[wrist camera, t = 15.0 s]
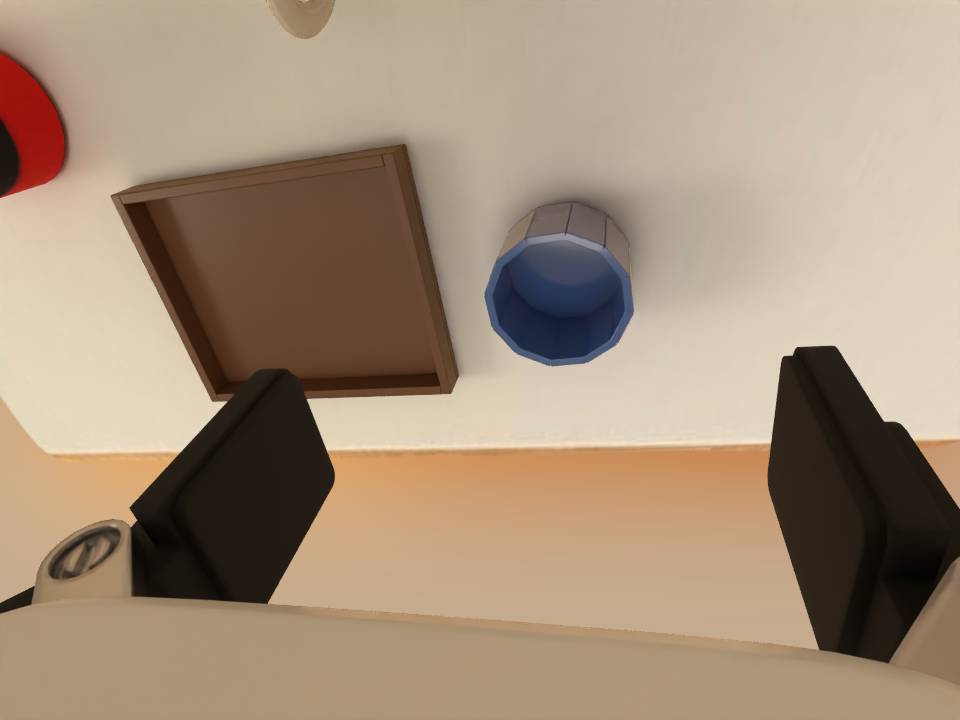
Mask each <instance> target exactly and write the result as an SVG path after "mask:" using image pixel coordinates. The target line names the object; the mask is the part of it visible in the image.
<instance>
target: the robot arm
mask: <svg viewBox="0 0 960 720" xmlns="http://www.w3.org/2000/svg"><path fill="white" fill-rule="evenodd" d="M334 473H335V472H334V468H333V466H332V463H331V460H330V458H329V455H328V453H327V450H326V448H325V445H324V443H323V440H322V437H321V435H320V432H319V430H318V427H317V425H316V422H315V419H314V417H313V414H312V412H311V409H310V407H309V404H308V402H307V399H306V396H305V394H304V391H303V389H302V386H301V384H300V381H299V379H298V378H297V377H296V376H295V375H292V374H291V372H290V371H289V370H288V369H285V368H278V369H260V370H257V371H256V372H255V373H254V374H253V375H252V376H251V377H250V378H249V379H248V380H247V381H246V383H245V384H244V385H243V386H242V387H241V388H240V389H239V390H238V391H237V392H236V393H235V394H234V395H233V397H232V398H231V399H230V400H229V401H228V402H227V403H226V404H225V405H224V406H223V407H222V408H221V409H220V411H219V412H218V413H217V414H216V415H215V416H214V417H213V418H212V419H211V420H210V421H209V422H208V424H207V425H206V426H205V427H204V428H203V429H202V430H201V431H200V432H199V433H198V434H197V435H196V436H195V438H194V439H193V440H192V441H191V442H190V443H189V444H188V445H187V446H186V447H185V448H184V449H183V450H182V452H181V453H180V454H179V455H178V456H177V457H176V458H175V459H174V460H173V461H172V462H171V464H170V465H169V466H168V467H167V468H166V469H165V470H164V471H163V472H162V473H161V474H160V475H159V476H158V477H157V479H156V480H155V481H154V482H153V483H152V484H151V485H150V486H149V487H148V488H147V489H146V490H145V492H144V493H143V494H142V495H141V496H140V497H139V498H138V499H137V500H136V501H135V502H134V503H133V504H132V506H131V507H130V510H131V511H132V513H133V514H134V516H135V517H136V519H137V521H136V522H135V524H134V525H133V526H132V527H131V528H130V526H129V525H128V524H127V523H125V522H124V521H122V520H115V519H111V520H105V521H100V522H97V523H94V524H91V525H88V526H86V527H84V528H82V529H80V530H78V531H76V532H74V533H73V534H71V535H70V536H68V537H67V538H66V539H64V540H63V541H61V542H60V543H59V544H58V545H57V546H56V547H55V548H53V549H52V551H50V552H49V554H48V555H47V556H46V557H45V559H44V560H43V561H42V563H41V565H40V567H39V570H38V572H37V577H36V582H35V586H33V587H32V588H29V589H28V590H25V591H23V592H21V593H19V594H17V595H15V596H13V597H11V598H10V599H7V600H5V601H4V602H1V603H0V720H960V509H959V507H958V506H957V505H956V503H955V502H954V500H953V499H952V497H951V496H950V494H949V493H948V491H947V490H946V488H945V487H944V485H943V484H942V482H941V481H940V479H939V478H938V476H937V475H936V473H935V472H934V471H933V469H932V467H931V466H930V465H929V463H928V461H927V460H926V458H925V457H924V455H923V454H922V452H921V451H920V449H919V448H918V446H917V445H916V444H915V442H914V441H913V439H912V438H911V436H910V435H909V433H908V432H907V430H906V429H905V428H904V427H903V426H902V425H901V424H899V423H897V422H884V421H883V419H882V418H881V416H880V415H879V413H878V412H877V410H876V408H875V407H874V405H873V404H872V402H871V401H870V399H869V397H868V396H867V394H866V393H865V391H864V389H863V388H862V386H861V385H860V383H859V382H858V380H857V378H856V377H855V375H854V374H853V372H852V371H851V369H850V367H849V366H848V364H847V363H846V361H845V360H844V358H843V356H842V355H841V353H840V352H839V350H838V349H837V348H836V347H835V346H814V347H797V348H796V349H795V351H794V354H793V356H784V357H783V358H782V362H781V368H780V376H779V384H778V393H777V401H776V409H775V417H774V425H773V433H772V441H771V450H770V458H769V466H768V487H769V492H770V496H771V499H772V502H773V505H774V508H775V512H776V515H777V518H778V521H779V524H780V528H781V531H782V534H783V537H784V540H785V543H786V546H787V549H788V552H789V556H790V559H791V562H792V565H793V568H794V571H795V574H796V578H797V581H798V584H799V587H800V590H801V594H802V597H803V600H804V603H805V606H806V609H807V612H808V615H809V619H810V622H811V625H812V628H813V631H814V634H815V638H816V641H817V644H818V647H819V650H814V649H807V648H799V647H792V646H784V645H777V644H770V643H759V642H747V641H738V640H727V639H717V638H706V637H695V636H685V635H674V634H663V633H652V632H640V631H627V630H614V629H601V628H587V627H576V626H563V625H550V624H537V623H525V622H512V621H499V620H486V619H471V618H459V617H444V616H432V615H418V614H404V613H390V612H376V611H362V610H348V609H334V608H320V607H305V606H290V605H274V604H268V602H269V600H270V598H271V596H272V594H273V593H274V591H275V589H276V587H277V586H278V584H279V582H280V580H281V578H282V576H283V575H284V573H285V571H286V569H287V568H288V566H289V564H290V562H291V560H292V559H293V557H294V555H295V553H296V551H297V550H298V548H299V546H300V544H301V543H302V541H303V539H304V537H305V535H306V534H307V532H308V530H309V528H310V526H311V524H312V523H313V521H314V519H315V517H316V516H317V514H318V512H319V510H320V508H321V507H322V505H323V503H324V501H325V499H326V498H327V496H328V494H329V492H330V491H331V489H332V487H333V484H334V480H335V474H334Z"/></svg>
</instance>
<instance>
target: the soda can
mask: <svg viewBox="0 0 960 720" xmlns="http://www.w3.org/2000/svg"><path fill="white" fill-rule="evenodd" d="M64 150H65V142H64V133H63V129H62V125H61V122H60V119H59V117H58V114H57V112H56V110H55V108H54V106H53V104H52V103H51V101H50V99H49V97H48V96H47V94H46V93H45V92H44V90H43V89H42V88H41V86H40V85H39V84H38V83H37V82H36V81H35V79H34V78H33V77H32V76H31V75H30V74H29V73H28V72H26V71H25V70H24V69H23V68H22V67H21V66H19V65H18V64H17V63H16V62H14V61H13V60H12V59H10V58H8V57H7V56H5V55H4V54H2V53H0V198H2V197H5V196H8V195H11V194H14V193H17V192H20V191H23V190H26V189H29V188H33V187H36V186H39V185H42V184H45V183H47V182H49V181H50V180H52V179H53V178H54V177H55V176H56V175H57V173H58V172H59V170H60V168H61V165H62V163H63V157H64Z"/></svg>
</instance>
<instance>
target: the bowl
mask: <svg viewBox="0 0 960 720" xmlns="http://www.w3.org/2000/svg"><path fill="white" fill-rule="evenodd" d="M484 297H485V301H486V305H487V309H488V313H489V317H490V321H491V325H492V327H493V330H494V331H495V332H496V333H497V334H498V335H499V336H500V337H501V338H502V339H503V340H504V341H505V342H506V343H507V345H508V346H509V347H510V348H511V349H512V350H513V351H514V352H515V353H517V354H518V355H521V356H523V357H526V358H529V359H532V360H534V361H537V362H540V363H542V364H545V365H548V366H550V364H551V366H561V365H572V364H584V363H586V362H587V363H588V362H589V361H591V360H593V359H594V358H596V357H598V356H599V355H601V354H602V353H604V352H606V351H607V350H609V349H610V348H612V347H614V346H615V345H616V344H617V343H618V342H619V340H620V339H621V337H622V335H623V333H624V331H625V329H626V327H627V325H628V323H629V321H630V320H631V318H632V316H633V312H634V302H633V282H632V268H631V258H630V249H629V242H628V240H627V239H626V237H625V236H624V235H623V234H622V232H621V231H620V230H619V229H618V227H617V226H616V225H615V224H614V222H613V221H612V220H611V219H610V218H609V216H608V215H606V214H605V213H602V212H599V211H597V210H595V209H593V208H591V207H588V206H585V205H581V204H578V203H575V202H573V203H572V202H568V203H558V204H553V205H548V206H544V207H538V208H537V209H535V210H533V211H532V212H531V213H530V214H529V215H527V216H526V217H525V218H524V219H522V220H521V221H520V222H519V223H518V224H516V225H515V226H514V227H513V228H512V229H511V230H510V232H509V234H508V236H507V238H506V240H505V242H504V245H503V247H502V249H501V251H500V253H499V255H498V257H497V260H496V262H495V264H494V267H493V270H492V273H491V276H490V279H489V282H488V285H487V288H486V291H485V296H484Z"/></svg>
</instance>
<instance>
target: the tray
mask: <svg viewBox="0 0 960 720" xmlns="http://www.w3.org/2000/svg"><path fill="white" fill-rule="evenodd" d="M111 198H112V200H113V202H114V204H115V206H116V208H117V210H118V212H119V214H120V216H121V218H122V221H123V223H124V225H125V227H126V229H127V231H128V233H129V235H130V237H131V239H132V241H133V243H134V245H135V247H136V249H137V251H138V253H139V255H140V257H141V259H142V261H143V263H144V265H145V267H146V269H147V271H148V273H149V275H150V277H151V279H152V281H153V283H154V285H155V287H156V289H157V291H158V293H159V295H160V297H161V299H162V301H163V303H164V305H165V307H166V309H167V311H168V313H169V315H170V317H171V319H172V321H173V323H174V325H175V327H176V329H177V331H178V333H179V335H180V337H181V340H182V342H183V344H184V346H185V348H186V350H187V352H188V354H189V356H190V358H191V360H192V362H193V364H194V366H195V368H196V370H197V372H198V374H199V376H200V378H201V380H202V382H203V384H204V386H205V388H206V390H207V392H208V394H209V396H210V398H211V400H212V401H213V402H217V401H220V402H221V401H229V400H230V399H231V398H232V397H233V395H234V394H235V393H236V392H237V391H238V390H239V389H240V388H241V387H242V386H243V385H244V384H245V383H246V381H247V380H248V379H249V378H250V377H251V376H252V375H253V374H254V373H255V372H256V371H257V370H260V369H278V368H285V369H288V370H289V371H290V372H291V374H292V375H295V376H296V377H297V378H298V379H299V381H300V384H301V386H302V389H303V391H304V394H305V396H306V399H312V398H343V397H373V396H404V395H434V394H451V393H452V391H453V388H454V386H455V384H456V381H457V379H458V377H459V375H458V371H457V366H456V362H455V358H454V353H453V349H452V345H451V340H450V336H449V332H448V327H447V323H446V319H445V314H444V310H443V306H442V301H441V297H440V293H439V288H438V284H437V280H436V275H435V271H434V267H433V262H432V258H431V253H430V249H429V245H428V240H427V236H426V232H425V227H424V223H423V219H422V214H421V210H420V206H419V201H418V197H417V193H416V188H415V184H414V180H413V175H412V171H411V167H410V162H409V158H408V154H407V149H406V145H405V144H403V145H396V146H390V147H383V148H377V149H371V150H364V151H358V152H351V153H345V154H338V155H332V156H325V157H319V158H313V159H306V160H300V161H293V162H287V163H280V164H274V165H268V166H261V167H255V168H248V169H242V170H235V171H229V172H223V173H216V174H210V175H203V176H197V177H190V178H184V179H177V180H171V181H165V182H158V183H152V184H145V185H139V186H134V187H131V188H129V189H126V190H123V191H121V192H118V193H116V194H113V195H111Z"/></svg>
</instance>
